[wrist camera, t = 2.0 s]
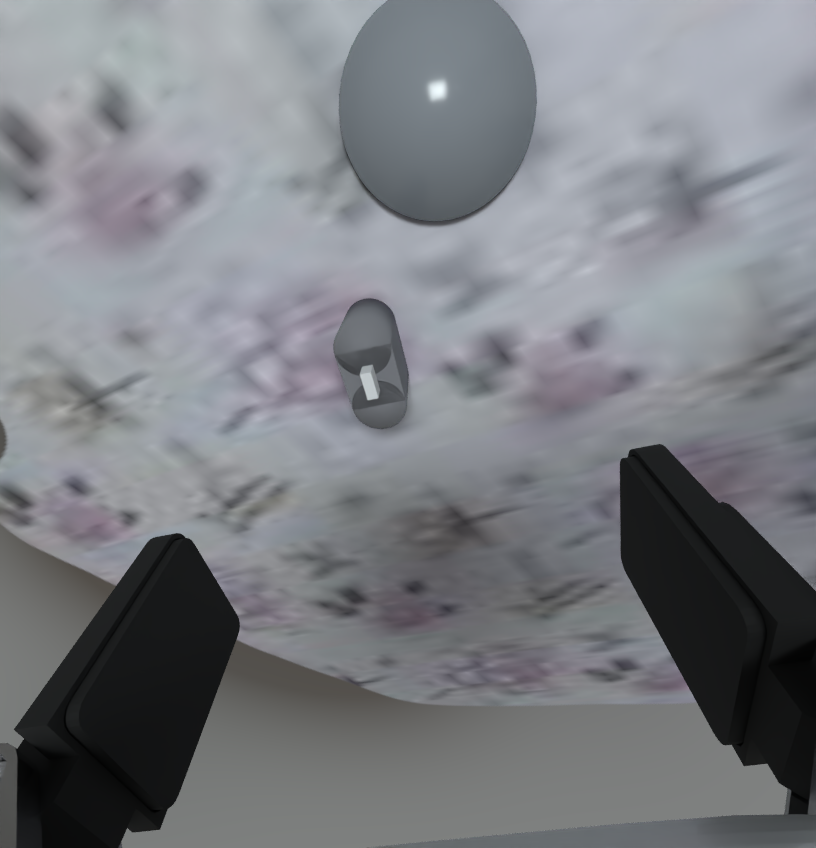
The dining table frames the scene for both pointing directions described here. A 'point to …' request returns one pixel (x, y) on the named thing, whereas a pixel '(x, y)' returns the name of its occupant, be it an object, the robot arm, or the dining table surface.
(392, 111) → the grey flat disc
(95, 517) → the dining table surface
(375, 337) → the plug
